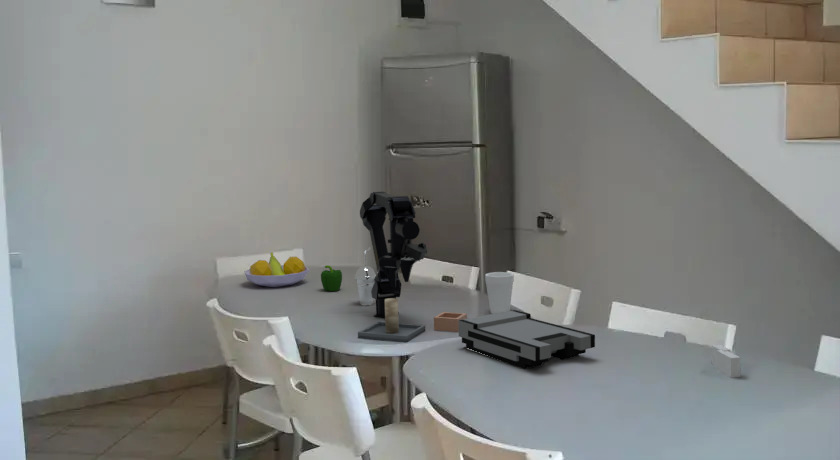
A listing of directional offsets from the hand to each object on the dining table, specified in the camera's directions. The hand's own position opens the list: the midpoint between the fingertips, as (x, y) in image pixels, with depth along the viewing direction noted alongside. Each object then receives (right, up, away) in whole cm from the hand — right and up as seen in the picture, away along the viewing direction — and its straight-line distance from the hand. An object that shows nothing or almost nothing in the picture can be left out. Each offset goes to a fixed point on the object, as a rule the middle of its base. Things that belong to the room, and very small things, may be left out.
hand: (400, 284), depth 256 cm
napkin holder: (+82, -18, -56) cm, 101 cm away
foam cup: (+33, -11, +14) cm, 37 cm away
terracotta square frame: (+16, -13, -5) cm, 21 cm away
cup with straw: (-13, -10, +34) cm, 38 cm away
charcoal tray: (-2, -14, -12) cm, 19 cm away
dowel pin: (-2, -14, -12) cm, 18 cm away
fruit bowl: (-53, -5, +79) cm, 96 cm away
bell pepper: (-28, -7, +61) cm, 68 cm away
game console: (+35, -17, -36) cm, 53 cm away
